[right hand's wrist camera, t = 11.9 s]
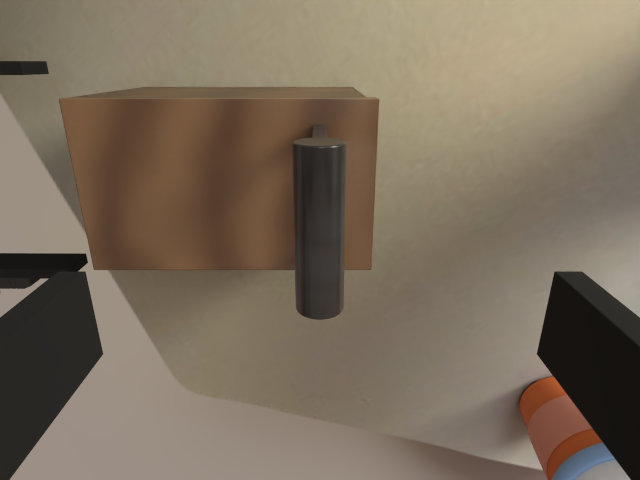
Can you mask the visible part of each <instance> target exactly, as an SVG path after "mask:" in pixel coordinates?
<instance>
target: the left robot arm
mask: <svg viewBox="0 0 640 480" xmlns="http://www.w3.org/2000/svg"><path fill="white" fill-rule="evenodd" d="M32 74H49V73H48V68H47V63H46V61H0V75H32ZM87 263H88V261H87V256H86V254H27V253H26V254H25V253H21V254H20V253H1V254H0V288H12V289H13V288H14V289H15V288H18V289H24V288H27V287H30V286H31V285H33V284H34V283H35V282H37V281H38V280H39V279H40V278H51V277H52V276H53V275H54V274H56V273H57V272H78V271H79V270H80V269H81V268H82V267H83V266H85V265H86V264H87Z"/></svg>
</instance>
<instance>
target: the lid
mask: <svg viewBox="0 0 640 480" xmlns="http://www.w3.org/2000/svg"><path fill="white" fill-rule="evenodd" d="M59 103H60V107H61V112H62V117H63V122H64V127H65V132H66V137H67V141H68V146H69V151H70V156H71V161H72V166H73V171H74V175H75V180H76V185H77V190H78V195H79V200H80V204H81V209H82V214H83V219H84V224H85V229H86V234H87V238H88V243H89V248H90V253H91V258H92V263H93V267H94V270H295V287H296V309H297V311H298V312H299V313H300V314H301V315H302V316H304V317H307V318H311V319H329V318H332V317H335V316H337V315H338V314H340V313H341V312H342V310H343V299H344V270H371V262H372V241H373V220H374V198H375V177H376V155H377V134H378V112H379V99H378V98H376V97H190V98H63V99H59Z"/></svg>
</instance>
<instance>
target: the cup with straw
mask: <svg viewBox="0 0 640 480" xmlns="http://www.w3.org/2000/svg"><path fill="white" fill-rule="evenodd" d="M520 411H521V414H522V417H523V419H524V421H525V424H526V426H527V428H528V435H529V438H530V440H531V443H532V445H533V447H534V450H535V452H536V454H537V457H538V459H539V461H540V464H541V466H542V468H543V471H544V473H545V475H546V477H547V479H548V480H630V478H629V477H628V476H627V474H626V473H625V472H624V470H623V469H622V467H621V466H620V465H619V463H618V462H617V461H616V459H615V458H614V457H613V455H612V454H611V453H610V451H609V450H608V449H607V447H606V446H605V445H604V443H603V442H602V441H601V439H600V438H599V437H598V435H597V434H596V433H595V431H594V430H593V429H592V427H591V426H590V425H589V423H588V422H587V421H586V419H585V418H584V416H583V415H582V414H581V412H580V411H579V410H578V408H577V407H576V406H575V404H574V403H573V402H572V400H571V399H570V398H569V396H568V395H567V394H566V392H565V391H564V390H563V388H562V387H561V386H560V384H559V383H558V382H557V380H556V379H555V378H554V377H548V378H544V379H541V380H539V381H537V382H535V383H533V384H532V385H531V386H529V387H528V388H527V389H526V391H525V392H524V393H523V395H522V397H521V400H520Z"/></svg>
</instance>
